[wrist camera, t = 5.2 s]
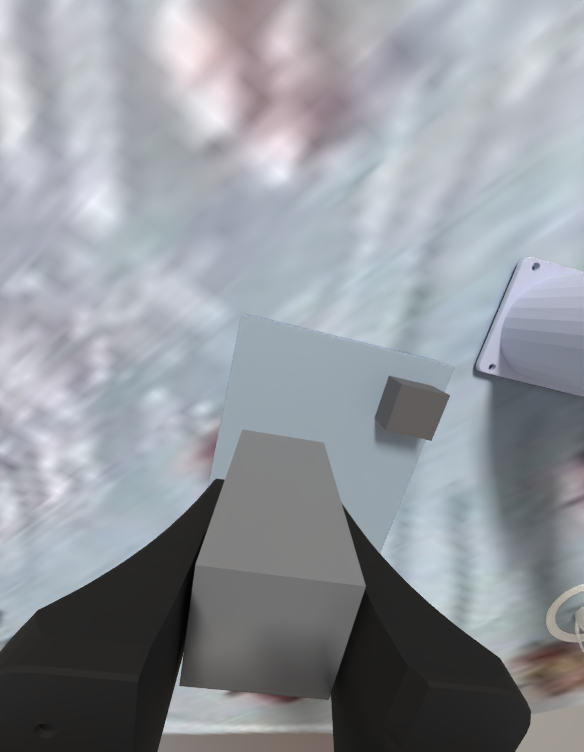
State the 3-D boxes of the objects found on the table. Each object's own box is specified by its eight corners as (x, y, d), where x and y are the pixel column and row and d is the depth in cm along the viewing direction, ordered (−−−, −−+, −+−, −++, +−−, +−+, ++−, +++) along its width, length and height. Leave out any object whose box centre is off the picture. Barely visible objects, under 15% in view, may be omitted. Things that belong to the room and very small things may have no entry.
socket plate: (433, 359, 20) (475, 375, 16) (368, 533, 24) (386, 585, 19) (246, 314, 19) (235, 316, 14) (209, 504, 23) (191, 552, 18)
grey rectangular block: (323, 442, 13) (366, 586, 6) (307, 511, 14) (328, 699, 7) (242, 429, 13) (195, 564, 6) (231, 500, 14) (179, 686, 7)
